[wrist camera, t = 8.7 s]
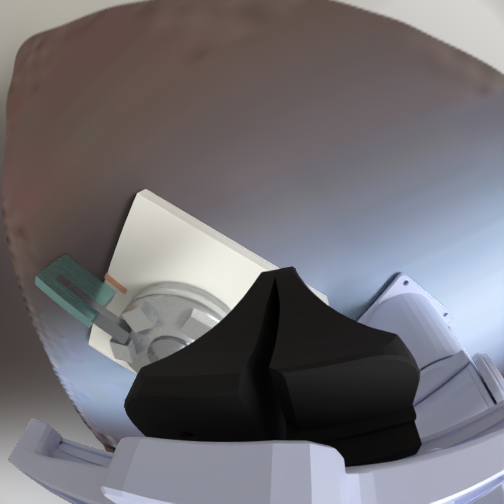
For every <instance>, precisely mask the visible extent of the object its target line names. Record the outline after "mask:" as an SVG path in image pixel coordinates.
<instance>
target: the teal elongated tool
mask: <svg viewBox="0 0 504 504" xmlns="http://www.w3.org/2000/svg"><path fill="white" fill-rule="evenodd" d="M35 285H36V286H38V287H39V288H40V289H41V290H42V291H43V292H44V293H45V294H47V295H48V296H49V297H50V298H51V299H52V300H54V301H55V302H56V303H57V304H58V305H60V306H61V307H62V308H63V309H65V310H66V311H67V312H68V313H70V314H71V315H72V316H73V317H75V318H76V319H77V320H79V321H80V322H81V323H83V324H84V325H85V326H87V327H88V328H90V326H91V325H92V324H95V325H96V326H98V327H99V328H100V329H102V330H103V331H105V332H106V333H107V334H109V335H110V336H112V338H111V340H110V341H109V343H110V346H111V349H112V353H113V356H114V358H115V359H118V360H122V361H126V362H127V363H128V365H129V366H130V367H131V368H132V369H133V370H134V371H135V372H136V373H137V374H138V372H139V370H140V369H141V367H144V366H146V365H149V364H151V363H153V362H156V361H158V360H160V359H162V358H165V357H167V356H169V355H171V354H173V353H175V352H177V351H178V350H180V349H182V348H184V347H185V346H187V345H189V344H190V343H192V342H194V341H195V340H197V339H198V338H199V337H201V336H202V335H203V334H205V333H206V332H208V331H209V330H210V329H212V328H213V327H214V326H215V325H217V324H218V323H219V322H220V321H221V320H222V319H223V318H224V317H225V316H226V315H227V314H228V313H229V312H230V311H231V309H230V308H229V307H228V306H227V305H226V304H225V303H223V302H222V301H221V300H220V299H218V298H217V297H215V296H214V295H212V294H210V293H209V292H207V291H205V290H202V289H200V288H198V287H195V286H191V285H188V284H183V283H176V282H162V283H157V284H153V285H150V286H148V287H146V288H144V289H142V290H141V291H139V292H138V293H137V294H136V295H135V296H134V297H133V299H132V300H131V301H130V303H129V304H128V305H127V307H126V308H125V309H124V311H123V312H122V313H121V315H120V316H119V317H118V316H116V315H115V314H113V313H112V312H110V311H109V310H108V309H106V307H107V306H108V304H109V303H110V302H111V301H112V300H113V298H114V295H115V293H116V291H114V290H113V289H112V288H110V287H109V286H107V285H106V284H105V283H103V282H102V281H101V280H99V279H98V278H97V277H95V276H94V275H93V274H91V273H90V272H89V271H87V270H86V269H85V268H83V267H82V266H81V265H79V264H78V263H77V262H76V261H74V260H73V259H72V258H71V257H69V256H68V255H67V254H66V253H65V254H64V255H62V256H61V257H60V258H58V259H57V260H56V261H54V262H53V263H51V264H50V265H49V266H47V267H46V268H45V269H44V270H42V271H41V272H40V273H38V274H37V275H36V278H35Z"/></svg>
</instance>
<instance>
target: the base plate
mask: <svg viewBox="0 0 504 504" xmlns="http://www.w3.org/2000/svg"><path fill="white" fill-rule="evenodd" d="M276 269H280V268H278V267H277V266H275V265H273V264H272V263H270V262H268V261H267V260H265V259H263V258H261V257H260V256H258V255H256V254H255V253H253V252H251V251H250V250H248V249H246V248H245V247H243V246H241V245H240V244H238V243H236V242H234V241H233V240H231V239H229V238H228V237H226V236H224V235H223V234H221V233H219V232H218V231H216V230H214V229H213V228H211V227H209V226H208V225H206V224H204V223H202V222H201V221H199V220H197V219H196V218H194V217H192V216H191V215H189V214H187V213H186V212H184V211H182V210H181V209H179V208H177V207H175V206H174V205H172V204H170V203H169V202H167V201H165V200H164V199H162V198H160V197H159V196H157V195H155V194H154V193H152V192H150V191H149V190H147V189H145V190H143V191H141V192H139V193H137V195H136V197H135V200H134V202H133V205H132V207H131V209H130V212H129V214H128V217H127V219H126V222H125V225H124V227H123V230H122V233H121V235H120V238H119V241H118V243H117V246H116V249H115V252H114V255H113V258H112V261H111V264H110V267H109V270H108V273H106V275H105V277H104V278H105V284H106V285H107V286H109V287H110V288H112V289H113V290H114V291H116V293H115V295H114V298H113V300H112V301H111V302H110V303H109V304H108V306H107V307H106V309H108V310H109V311H110V312H112V313H113V314H115V315H116V316H118V317H119V316H120V315H121V313H122V312H123V311H124V309H125V308H126V307H127V305H128V304H129V303H130V301H131V300H132V299H133V297H134V296H135V295H136V294H137V293H138V292H139V291H141V290H142V289H144V288H146V287H148V286H150V285H153V284H157V283H162V282H176V283H183V284H188V285H191V286H195V287H198V288H200V289H202V290H205V291H207V292H209V293H210V294H212V295H214V296H215V297H217V298H218V299H220V300H221V301H222V302H223V303H225V304H226V305H227V306H228V307H229V308H230V309H231V310H232V309H233V308H234V307H235V306H236V305H237V304H238V302H239V301H240V300H241V299H242V298H243V297H244V295H245V294H246V293H247V291H248V290H249V289H250V287H251V286H252V285H253V283H254V282H255V280H256V279H257V277H258V276H259V275H260V273H261V272H265V271H270V270H276ZM306 285H307V284H306ZM307 286H308V287H309V289H310V290H311V291H312V292H313V293H314V294H315V295H316V296H318V297H319V298H320V299H321V300H322V301H323V302H324V303H326V304H327V305H328V306H329V303H328V299H327V296H325V295H324V294H322V293H320V292H319V291H317V290H315V289H314V288H312V287H310V286H309V285H307ZM111 338H112V336H110V335H109V334H107V333H106V332H105V331H103V330H102V329H100V328H99V327H98V326H96V325H95V324H93V326H92V331H91V335H90V339H89V345H90V346H92V347H93V348H95V349H96V350H98V351H99V352H101V353H103V354H104V355H106V356H107V357H109V358H110V359H112V360H114V361H115V362H117V363H119V364H120V365H122V366H124V367H125V368H127V369H129V370H131V371H132V372H134V373H136V372H135V371H134V370H133V369H132V368H131V367H130V366H129V365H128V363H127V362H126V361H122V360H118V359H115V358H114V356H113V353H112V349H111V346H110V343H109V341H110V340H111ZM136 374H137V373H136Z"/></svg>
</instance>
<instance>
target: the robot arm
mask: <svg viewBox="0 0 504 504" xmlns="http://www.w3.org/2000/svg"><path fill="white" fill-rule="evenodd" d="M406 280H407V282H406V283H404V281H406ZM444 313H445V314H444ZM452 319H453V314H452V313H451V312H450V311H449V310H448V309H447V308H445V307H444V306H443V305H442V304H441V303H440V302H438V301H437V300H436V299H435V298H434V297H432V296H431V295H430V294H429V293H428V292H426V291H425V290H424V289H423V288H422V287H420V286H419V285H418V284H417V283H415V282H414V281H413V280H412V279H410V278H409V277H408V276H407V275H405V274H404V273H401V274H399V275H398V276H397V277H396V278H395V279H394V280H393V282H392V283H391V284H390V285H389V286H388V287H387V289H386V290H385V291H384V292H383V293H382V294H381V296H380V297H379V298H378V299H377V300H376V301H375V302H374V303H373V305H372V306H371V307H370V308H369V309H368V310H367V311H366V312H365V313H364V314H363V315H362V316H361V318H360V319H359V320H358V321H357V322H356V321H354V320H352V319H350V318H348V317H346V316H344V315H342V314H340V313H339V312H337V311H335V310H334V309H332V308H331V307H330V306H328V305H327V304H326V303H324V302H323V301H322V300H321V299H320V298H319V297H318V296H316V295H315V294H314V293H313V292H312V291H311V290H310V289H309V287H308V286H307V285H306V284H305V283H304V282H303V281H302V279H301V278H300V276H299V275H298V273H297V271H296V269H295V268H294V267H286V268H281V269H276V270H270V271H265V272H261V273H260V275H259V276H258V277H257V279H256V280H255V282H254V283H253V285H252V286H251V287H250V289H249V290H248V291H247V293H246V294H245V295H244V297H243V298H242V299H241V300H240V301H239V302H238V304H237V305H236V306H235V307H234V308H233V309H232V310H231V311H230V312H229V313H228V314H227V315H226V316H225V317H224V318H223V319H222V320H221V321H220V322H219V323H218V324H217V325H215V326H214V327H213V328H212V329H210V330H209V331H208V332H206V333H205V334H203V335H202V336H201V337H199V338H198V339H197V340H195V341H194V342H192V343H190V344H189V345H187V346H185V347H184V348H182V349H180V350H178V351H177V352H175V353H173V354H171V355H169V356H167V357H165V358H162V359H160V360H158V361H156V362H153V363H151V364H149V365H146V366H144V367H141V369H140V370H139V372H138V374H137V376H136V379H135V381H134V383H133V385H132V387H131V389H130V391H129V393H128V395H127V397H126V399H125V404H124V408H125V411H126V414H127V415H128V417H129V418H130V420H131V421H132V422H133V424H134V425H135V426H136V427H137V428H138V429H139V430H140V431H141V432H142V433H143V434H144V435H145V436H146V437H125V438H122V439H121V440H120V442H119V443H118V445H117V447H116V450H115V452H114V453H111V452H107V451H103V450H99V449H96V448H93V447H89V446H86V445H83V444H80V443H76V442H73V441H70V440H68V439H65V438H62V436H61V435H60V434H59V433H58V432H57V431H56V430H55V429H54V428H52V427H51V426H50V425H48V424H46V423H44V422H41V421H38V420H36V419H31V420H30V422H29V423H28V425H27V427H26V429H25V430H24V432H23V433H22V435H21V437H20V439H19V440H18V442H17V444H16V446H15V447H14V449H13V451H12V453H11V455H10V457H9V459H8V460H9V462H11V463H12V464H13V465H14V466H15V467H17V468H18V469H19V470H21V471H22V472H23V473H25V474H26V475H27V476H29V477H30V478H31V479H33V480H34V481H35V482H37V483H38V484H40V485H41V486H43V487H44V488H46V489H47V490H49V491H50V492H52V493H54V494H55V495H57V496H59V497H61V498H63V499H64V500H66V501H68V502H70V503H72V504H504V379H503V377H502V376H501V374H500V373H499V371H498V369H497V368H496V366H495V365H494V363H493V362H492V360H491V359H490V358H489V356H488V355H487V354H481V355H480V354H479V353H476V354H475V355H474V356H473V357H472V360H473V362H474V363H475V365H476V367H477V368H478V370H477V368H476V367H475V365H474V364H473V363H472V360H471V358H470V356H469V354H468V353H467V351H466V350H465V348H464V347H463V345H462V344H461V342H460V341H459V339H458V338H457V336H456V335H455V333H454V332H453V330H452V329H451V327H450V326H449V325H448V324H449V322H450V321H451V320H452Z"/></svg>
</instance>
